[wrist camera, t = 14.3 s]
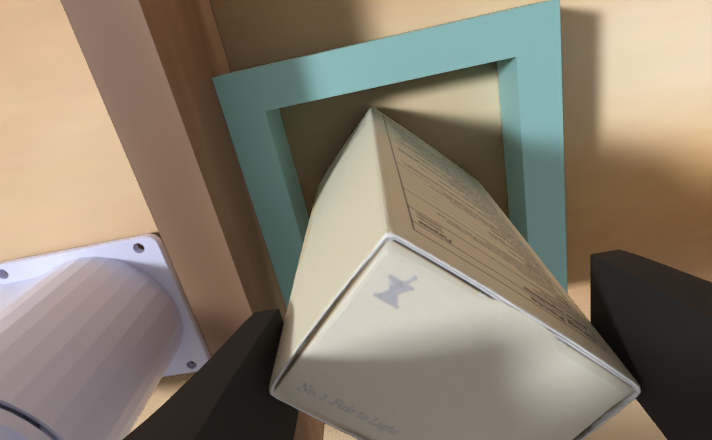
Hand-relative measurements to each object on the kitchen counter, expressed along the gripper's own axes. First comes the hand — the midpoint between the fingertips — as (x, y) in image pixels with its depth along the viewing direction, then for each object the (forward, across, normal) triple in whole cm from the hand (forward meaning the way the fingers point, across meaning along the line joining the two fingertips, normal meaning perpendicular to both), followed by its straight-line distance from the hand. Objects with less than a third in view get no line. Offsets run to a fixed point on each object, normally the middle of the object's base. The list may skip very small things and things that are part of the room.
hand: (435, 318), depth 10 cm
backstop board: (+10, +7, 0) cm, 12 cm away
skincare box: (+10, 0, 0) cm, 10 cm away
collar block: (+10, 0, 0) cm, 10 cm away
